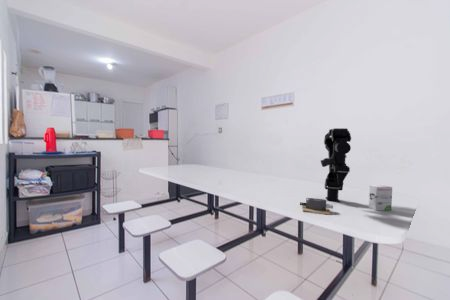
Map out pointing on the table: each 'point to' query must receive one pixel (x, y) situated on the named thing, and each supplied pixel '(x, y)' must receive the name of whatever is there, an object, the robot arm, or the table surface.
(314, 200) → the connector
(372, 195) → the ink box
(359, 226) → the table surface
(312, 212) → the light brown wooden board
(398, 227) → the table surface
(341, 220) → the table surface
